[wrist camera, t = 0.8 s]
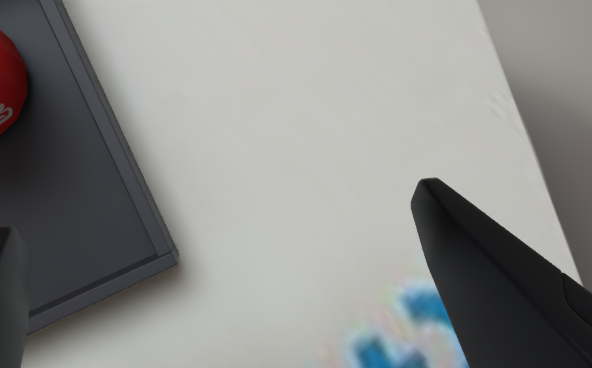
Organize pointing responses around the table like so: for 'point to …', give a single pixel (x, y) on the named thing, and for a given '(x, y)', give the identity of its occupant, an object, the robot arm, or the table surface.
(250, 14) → the table surface
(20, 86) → the soda can
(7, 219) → the dark grey tray
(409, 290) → the table surface
